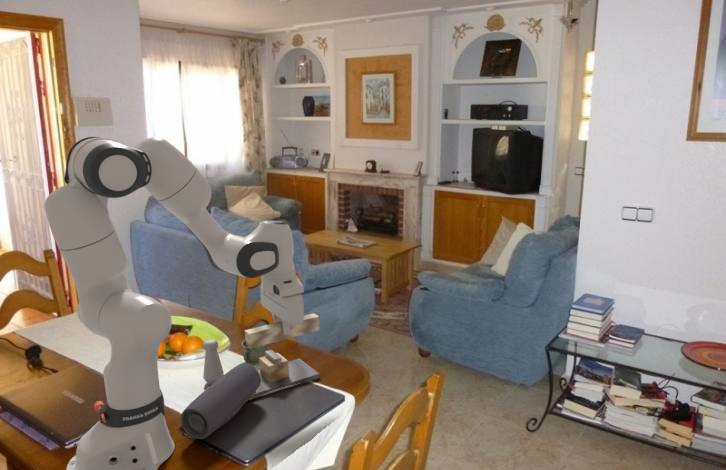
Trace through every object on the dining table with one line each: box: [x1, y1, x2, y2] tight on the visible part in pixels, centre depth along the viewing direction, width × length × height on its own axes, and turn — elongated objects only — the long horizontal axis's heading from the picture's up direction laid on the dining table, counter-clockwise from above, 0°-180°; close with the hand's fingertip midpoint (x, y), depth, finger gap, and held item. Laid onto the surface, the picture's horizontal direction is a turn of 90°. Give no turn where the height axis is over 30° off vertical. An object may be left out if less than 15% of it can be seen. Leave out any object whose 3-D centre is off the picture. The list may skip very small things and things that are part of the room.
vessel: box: [241, 339, 271, 366], centre depth 173 cm, size 12×9×6 cm
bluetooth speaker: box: [180, 362, 261, 440], centre depth 138 cm, size 23×9×10 cm, turn 159°
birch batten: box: [244, 312, 320, 349], centre depth 145 cm, size 20×3×4 cm, turn 122°
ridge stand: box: [255, 349, 321, 394], centre depth 158 cm, size 22×13×8 cm, turn 123°
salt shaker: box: [202, 338, 225, 386], centre depth 158 cm, size 6×6×13 cm
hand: (282, 330), depth 145 cm, fingers closed on birch batten, 3 cm apart
